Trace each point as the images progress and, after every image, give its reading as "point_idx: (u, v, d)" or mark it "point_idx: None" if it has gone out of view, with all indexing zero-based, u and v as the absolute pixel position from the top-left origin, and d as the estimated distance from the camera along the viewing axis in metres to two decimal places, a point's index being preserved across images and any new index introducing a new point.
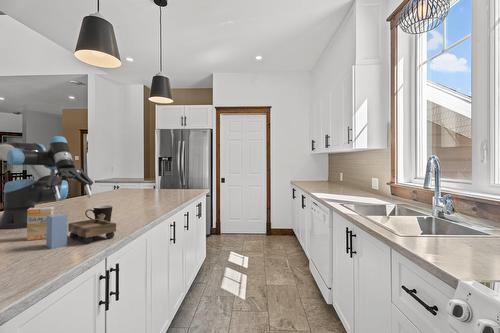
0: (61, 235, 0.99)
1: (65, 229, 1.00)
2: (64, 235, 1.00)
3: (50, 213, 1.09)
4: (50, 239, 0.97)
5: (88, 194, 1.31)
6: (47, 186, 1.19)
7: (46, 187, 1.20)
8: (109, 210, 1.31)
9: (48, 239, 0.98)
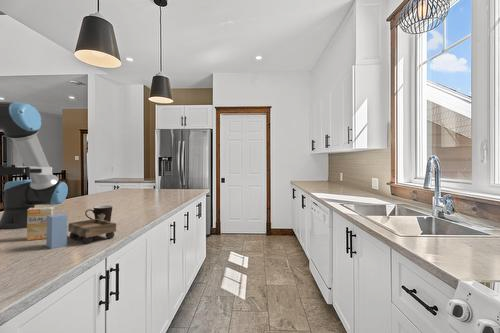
0: (61, 235, 0.99)
1: (65, 229, 1.00)
2: (64, 235, 1.00)
3: (50, 213, 1.09)
4: (50, 239, 0.97)
5: None
6: None
7: None
8: (109, 210, 1.31)
9: (48, 239, 0.98)
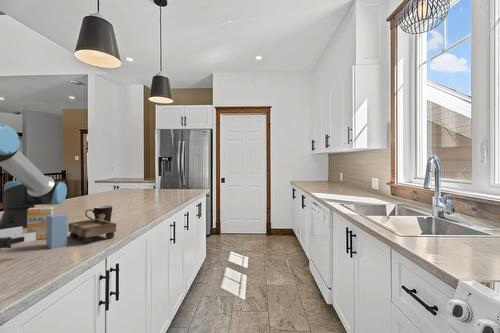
0: (61, 235, 0.99)
1: (65, 229, 1.00)
2: (64, 235, 1.00)
3: (50, 213, 1.09)
4: (50, 239, 0.97)
5: None
6: None
7: None
8: (109, 210, 1.31)
9: (48, 239, 0.98)
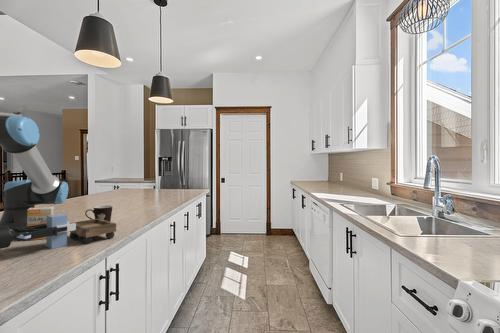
0: (61, 235, 0.99)
1: None
2: (64, 235, 1.00)
3: (50, 213, 1.09)
4: (50, 239, 0.97)
5: None
6: None
7: None
8: (109, 210, 1.31)
9: (48, 239, 0.98)
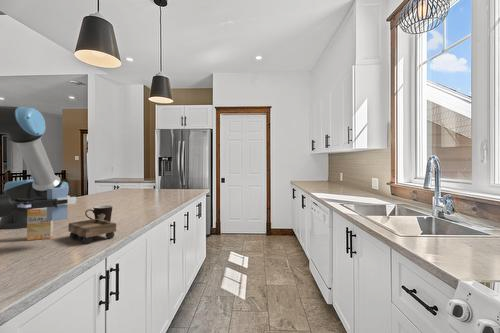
0: (61, 208, 0.99)
1: None
2: (64, 208, 1.00)
3: None
4: (50, 211, 0.97)
5: None
6: None
7: (45, 197, 1.01)
8: (109, 210, 1.31)
9: (48, 211, 0.98)
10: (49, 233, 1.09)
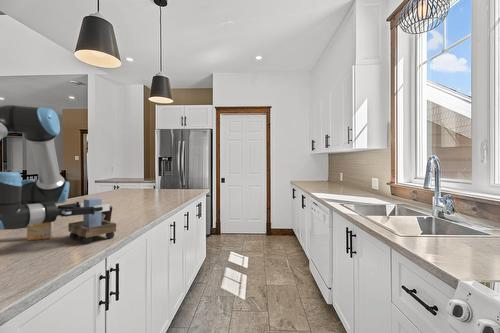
0: (96, 217, 1.09)
1: None
2: (99, 217, 1.10)
3: None
4: (87, 220, 1.08)
5: None
6: None
7: (74, 204, 1.13)
8: None
9: (85, 220, 1.09)
10: (49, 233, 1.09)
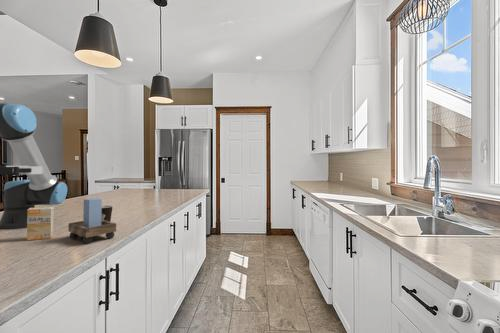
0: (96, 217, 1.09)
1: (100, 211, 1.11)
2: (99, 217, 1.10)
3: (50, 213, 1.09)
4: (87, 220, 1.08)
5: None
6: None
7: (0, 166, 0.94)
8: (109, 210, 1.31)
9: (85, 220, 1.09)
10: (49, 233, 1.09)
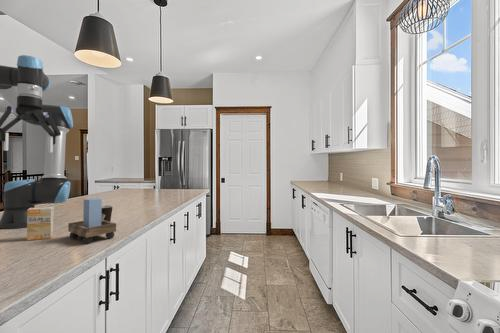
0: (96, 217, 1.09)
1: (100, 211, 1.11)
2: (99, 217, 1.10)
3: (50, 213, 1.09)
4: (87, 220, 1.08)
5: (49, 149, 1.05)
6: None
7: None
8: (109, 210, 1.31)
9: (85, 220, 1.09)
10: (49, 233, 1.09)
